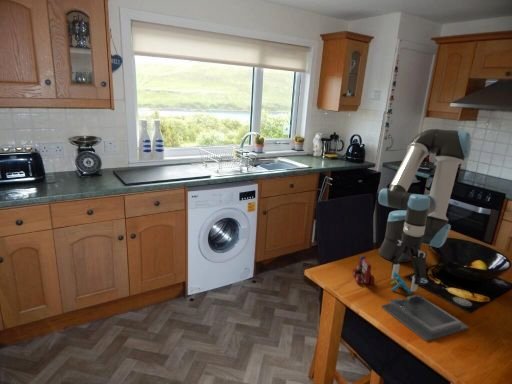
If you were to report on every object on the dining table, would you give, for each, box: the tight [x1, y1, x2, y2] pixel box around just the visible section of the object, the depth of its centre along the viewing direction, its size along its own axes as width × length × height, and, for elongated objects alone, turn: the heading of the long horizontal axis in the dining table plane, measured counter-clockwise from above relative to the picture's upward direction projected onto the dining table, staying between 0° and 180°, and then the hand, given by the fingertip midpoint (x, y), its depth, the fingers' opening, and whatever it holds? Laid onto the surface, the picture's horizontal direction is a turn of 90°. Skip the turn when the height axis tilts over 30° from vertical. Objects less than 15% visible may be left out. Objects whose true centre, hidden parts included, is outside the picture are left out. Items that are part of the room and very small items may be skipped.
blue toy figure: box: [390, 272, 413, 295], centre depth 138 cm, size 11×6×10 cm
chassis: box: [381, 293, 469, 342], centre depth 121 cm, size 20×20×3 cm
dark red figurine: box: [352, 255, 375, 286], centre depth 145 cm, size 7×12×10 cm, turn 178°
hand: (403, 284), depth 139 cm, fingers closed on blue toy figure, 9 cm apart
